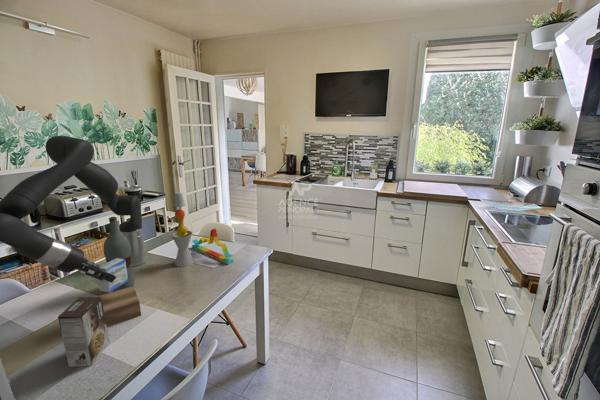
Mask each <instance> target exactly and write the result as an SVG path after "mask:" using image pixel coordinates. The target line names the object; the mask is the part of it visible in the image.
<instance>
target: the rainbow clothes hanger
mask: <svg viewBox="0 0 600 400" xmlns="http://www.w3.org/2000/svg"><path fill="white" fill-rule="evenodd" d="M219 239H220V238H219V236H218V233H217V229H216V228H213V229H210V235H209V237H207V238H206V237H201V238H199V240H198V239H197V238H195V239H192V243H193V244H192V245H191V248H192V249H193V250H195V251H197V252H200V253H202V254H204V255H206V256H208V257H211V258H213V259H215V260H217V261H220V262H222V263H224V264H226V265H230V264H233V263H234V259H233V258H231V257H233V255H234V254H231V253H229V250H228V246H227V244H226V243H223V242H221V241H220V240H219ZM205 243H208V245H211V244H215V245H217V246H218V247H221V249H222V252H223V254H221V253H219V252H216V251H214V250H212V249H210V248H207V247H205V246H203V245H201V244H205Z"/></svg>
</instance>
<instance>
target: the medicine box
mask: <svg viewBox="0 0 600 400" xmlns="http://www.w3.org/2000/svg"><path fill="white" fill-rule="evenodd" d="M98 266H99V267H100V269H101V270H103V271H106V272H107V273H110V274H112V275H114V276H116V279H115V280H114V281H113V282H109V281H106V280H104V279H103V280H99V279H97V284H98V291H99V292H105V293H111V292H113V290H115V289H117V288H118V287H120V286H121V285H123V284H124V283H126V282H128V275H127V268H126V261H125V260H124V259H119V258H115V259H113V260H111V261H109V262H105V263H103V264H101V265H98ZM96 269H97V268H96ZM100 274H101V273H100ZM100 274H99V275H98V276H100Z"/></svg>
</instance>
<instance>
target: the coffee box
mask: <svg viewBox="0 0 600 400" xmlns="http://www.w3.org/2000/svg"><path fill="white" fill-rule="evenodd" d="M57 320H58V323H59V328H60V333H61V337H62V341H63V346H64V349H65V355H66V360H67V364H68V367H69V368H70V367H71V368H73V367H91V366H93V365H94V364H95V363H96V361H97V360H98V359H99V357H100V356H101V354H102V353H103V352H104V351H105V350H106V348H107V346H108V345H109V343H110V337H109V332H108V331H109V330H108V327H107V325H106V320H105V315H104V309H103V304H102V299H101V297H96V296H81V297H78V298H77V299H75V300H74V301H73V303H71V304H70V305H69V306H68V307H67V308H65V310H64V311H63V312H61V313H60V314H59V315H58V316H57Z"/></svg>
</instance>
